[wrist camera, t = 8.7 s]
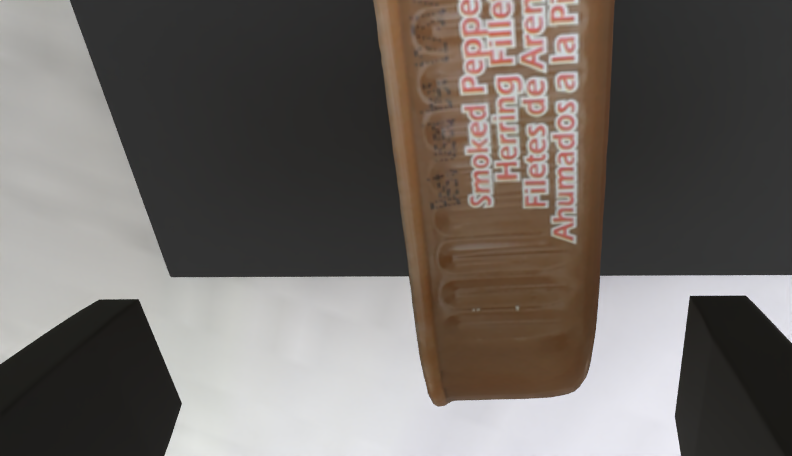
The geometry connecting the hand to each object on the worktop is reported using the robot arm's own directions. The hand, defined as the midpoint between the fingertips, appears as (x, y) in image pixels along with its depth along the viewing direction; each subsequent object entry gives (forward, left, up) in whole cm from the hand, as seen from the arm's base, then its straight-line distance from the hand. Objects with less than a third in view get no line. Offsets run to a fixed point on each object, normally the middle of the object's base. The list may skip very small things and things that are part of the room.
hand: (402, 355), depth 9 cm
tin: (+1, +3, -9) cm, 10 cm away
